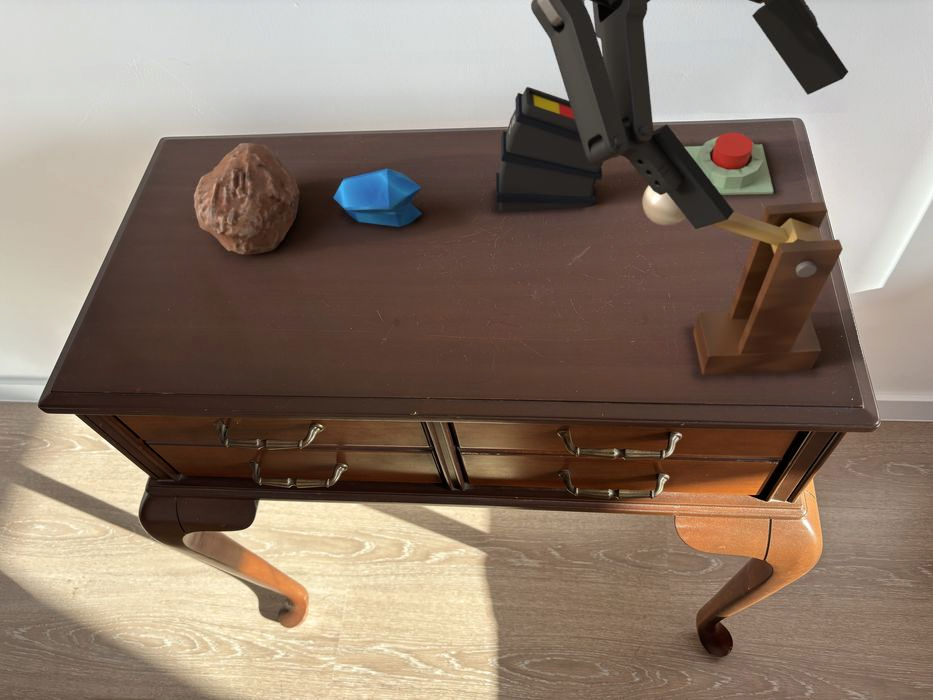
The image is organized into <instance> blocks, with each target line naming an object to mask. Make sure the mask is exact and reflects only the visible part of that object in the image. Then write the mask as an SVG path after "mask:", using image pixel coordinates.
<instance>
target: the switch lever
mask: <svg viewBox="0 0 933 700" xmlns="http://www.w3.org/2000/svg"><path fill="white" fill-rule="evenodd" d="M641 204H642V209H643V212H644V214H645V216H646V217H647V218H648V219H649V220H650V222H652V223H654V224H657V225H658V226H665V227H666V226H667V227H668V226H674V225H677V224H680V223H681V222H683V221H684V220H685V219H687V218H686V216H685V215H684V214H683V213H682V211H681V210H680V209H679V208H678V206H677V205H676V204H675V203H674V201H673V200H672V199H671V198H670V196H669V195H668V194H667V193H665V194H662V195H659V194H658V193H656V192H654V191H653V190H652V188H651V187H650V186H649V185H647V187H646V188H645V189H644V191H643V195H642V202H641ZM711 226H713V227H716V228H719V229H723V230H725V231H728V232H732V233H735V234H738V235H741V236H744V237H748V238H751V239H753V240H754V239H757V240H760V241H763V242H766V243H769V244H771V246H772V249H773V252H774V254H775V252H776V249H777V247H778V244H779V243H789V242H805V241H822V240H823V237H822V234H821V232H820V228H819V229H818V227H815V226H812V225H809V224H806V223H803V222H800V221H797V220H795V219H792V218H790V219H788V220H787V221H786V222H785V223H784V224H783V225H782V226H781V227H777V226H774V225H771V224H768V223H765V222H762V221H761V220H758V219H756V218H752V217H750V216H746V215H743V214H741V213H739V212H736V211H734V212H733V213H732V215H731V216H730V217H729V218H728V220H725V221H722V222H718V223H715V224H712V225H711Z"/></svg>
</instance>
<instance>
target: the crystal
mask: <svg viewBox="0 0 933 700" xmlns="http://www.w3.org/2000/svg"><path fill="white" fill-rule="evenodd" d="M421 189H422V187H421V186H420V185H418V184H417V183H416V182H415V181H414V180H412V179H411V178H409V177H408V176H407V175H405V174H404V173H402V172H399V171H397V170H394V169H390V168H385V169H381V170H376V171H372V172H367V173H363V174H358V175H354V176H349V177H346V178H345V177H344V178H343V180H342V181H341V182H340V185H339V187H338V188H337V190H336V192H335V194H334V196H333V199H334V200H335V201H336V202H337V203H338V204H339V205H340V206H341V207H342V208H343V209H344V210H345V212H346V213H347V215H349V217H351V218H353V219H354V220H355V221H357V222H359V223H365V224H374V225H383V226H391V227H398V228H400V227H404V226H406V225H410V224H411V223H412V222H414V221H415V220H417V218H419V217H420V216H421V215H422V214H423V213H422V211H420V210H419V209H418V208H416V207H415V206H414V205H413V204H412V201H413V200H414V199H415V197H416V196H417V194H418V193H419V192H420V191H421Z"/></svg>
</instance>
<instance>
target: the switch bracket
mask: <svg viewBox="0 0 933 700" xmlns="http://www.w3.org/2000/svg"><path fill="white" fill-rule="evenodd" d="M827 213H828V209H827V206H826V203H825V201H815V202H813V201H812V202H800V203H785V204H767V205H766V206H765V208H764V211H763V214H762V217H761V220H760V221H762V222H765V223H768V224H771V225H774V226H777V227H781V226H782V225H783V224H784V223H785V222H786V221H787V220H788V219H790V218H792V219H795V220H797V221H800V222H803V223H806V224H809V225H812V226H815V227H818V229H819V230H820V227H821V226H822V224H823V221H824V219H825V217H826V214H827ZM842 251H843V246H842V244H841V241H840V239H822V241H805V242H789V243H779V244H778V247H777V249H776V252H775V254H774V252H773V249H772V246H771V244H769V243H766V242H763V241H760V240H757V239H754V238H753V242H752V245H751V248H750V250H749V254H748V256H747V258H746V259H747V260H746V262H745V265H744V268H743V271H742V274H741V276H740V279H739V282H738V285H737V288H736V291H735V294H734V296H733V299H732V302H731V305H730V308H729V311H715V312H714V311H713V312H699V313H698V315H697V318H696V321H695V325H694V329H693V332H692V333H693V339H694V343H695V347H696V352H697V356H698V362H699V366H700V371H701V374H702V375H703V376H704V375H723V374H725V375H726V374H743V373H744V374H745V373H746V374H747V373H767V372H788V371H790V372H791V371H807V370H808V371H811V370H812V368H813V367H814V365H815V363H816V361H817V360H818V358H819V356H820V354H821V353H822V348H821V345H820V342H819V339H818V336H817V332H816V330H815V328H814V327H815V326H814V324H813V321H812V318H811V311H812V310H813V308H814V306H815V304H816V302H817V300H818V298H819V296H820V294H821V293H822V291H823V288H824V286H825V284H826V283H827V281H828V279H829V277H830V275H831V273H832V271H833V270H834V267H835V265H836V263H837V261H838V260H839V258H840V255H841V254H842Z"/></svg>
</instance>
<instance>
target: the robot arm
mask: <svg viewBox="0 0 933 700" xmlns="http://www.w3.org/2000/svg"><path fill="white" fill-rule="evenodd" d="M585 1H586V0H532V1H531V3H530V9H531V12H532V14H533V15H534V17H535V18H536V20H537V21H538V23H539V25H540V27H542V29H543V30H544V32H545V33H546V35H547V36H548V38H549V41H550V43H551V46H552V50H553V53H554V56H555V60H556V64H557V66H558V71H559V73H560V76H561V79H562V82H563V85H564V89H565V93H566V95H567V98H568V99H567V100H568V101H569V102H570V105H571V109H572V112H573V115H574V118H575V122H576V125H577V128H578V132H579V135H580V138H581V141H582V145H583V148H584V151H585V154H586V157H587V159H588V161H589V162H590V163H591V164H594V165H598V164H600V163H602V162H603V163H604V162H607V161H609V160H611V159H614V158H618V157H624V158H626V159H627V160H628V161H629V163H630V164H631V165H632V166H633V168H634V169H635V170H636V172H637V173H639V175H640V176H641V178H643V180H644V181H645V182H646V183H647V186H650V187H651V188H652V190H653V191H654V192H656V193H658V194H659V195H662V194H665V193H667V194H668V195H669V196H670V198H671V199H672V200H673V201H674V203H675V204H676V205H677V206H678V208H679V209H680V210H681V211H682V213H683V214H684V215H685V216H686V218H685V219H687V220H688V222H689V223H690V224H691V225H692V227H693V228H694V229H695V230H697V229H702V228H705V227H708V226H713V225H712V224H715V223H718V222H722V221H725V220H728V218H729V217H730V216H731V215H732V213H733V212H735V211H734V209H733V208H732V206H731V205H730V204H729V202H727V200H726V199H725V198H724V197H723V196H724V195H721V194H720V193H719V191H718V190H717V189H716V187H715V186H714V185H713V183H712V182H711V181H710V180H709V178H708V177H707V176H706V174H705V173H704V172H703V171H702V169H701V168H700V167H699V165H698V164H697V163H696V161H695V160H694V159H693V158H692V156H691V155H690V154H689V152H688V151H687V150H686V149H685V147H686V146H684V144H683V143H682V142H681V140H680V139H679V137H677V135H676V134H675V132H673V130H672V129H671V128H670V126H669V125H668V124H667V123H666V124H664V125H662V126H661V127H659V128H657V129H655V130H654V123H653V112H652V111H653V110H652V101H651V89H650V81H649V70H648V59H647V49H646V48H647V47H646V38H645V27H644V19H645V17H646V15H647V12H648V3H649V2H650V1H651V0H589V1H590V2H592V3H591V4H592V12H593V13H592V14H593V21H592V18H591V15H590V13H589V11H588V9H587V6H586V4H585ZM748 1H749V2H752V3H755V4H759V5H761V4H763V3H764V5H762V6H760V7H759V8H758V9H756V11H755V12H753V14H752V15H751V16H752V18H753V19H754V21H755V22H756V24H757V25H758V26H759V29H761V31H762V32H763V34H764V35H765V36H766V38H767V39H768V41H769V42H770V43H771V45H772V47H774V50H775V51H776V52H777V53H778V55H779V56H780V58H781V59H782V61H783V62H784V64H785V66H787V68H788V69H789V71H790V72H791V74H792V75H793V76H794V79H796V80H797V82H798V84H799V85H800V86H801V88H802V90H803V91H804V92H805V94H806V95H807V96H808V95H811V94H813V93H815V92H817V91H819V90H821V89H824V88H826V87H829V86H830V85H832V84H835V83H837V82H839V81H841V80H843V79H844V78H845V77H846V76H847V74H848V73H849V70H848V68H847V67H846V65H844V63H843V62H842V59H841V58H840V57H839V55H838V54H837V53H836V51H835V49H834V48H833V47H832V45H831V43H830V42H829V41H828V39H827V38H826V36H825V34H824V33H823V31H822V30H821V29H820V28H819V24H818V21H817V18H816V16H815V14H814V12H813V11H812V10H811V8H810V6H809V5H808V4H807V3H806V1H805V0H748ZM593 23H594V24H593ZM598 39H600V43H599V41H598ZM600 44H601V47H600Z"/></svg>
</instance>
